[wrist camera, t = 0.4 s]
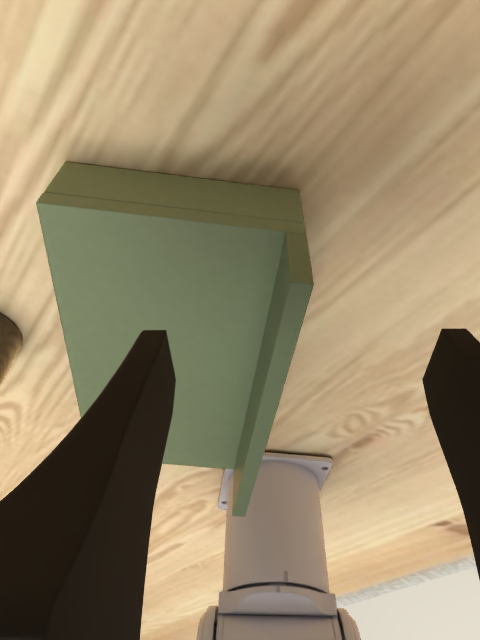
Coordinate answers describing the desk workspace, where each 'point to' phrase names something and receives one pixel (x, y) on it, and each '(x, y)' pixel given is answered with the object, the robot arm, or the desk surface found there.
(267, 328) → the shelf
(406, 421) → the desk surface
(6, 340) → the salt shaker
